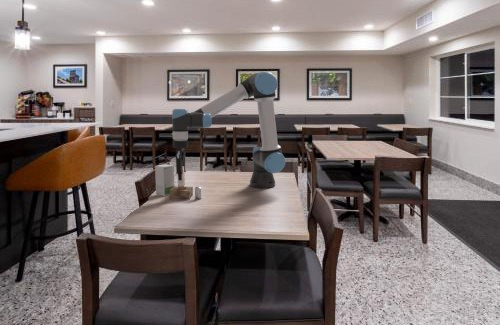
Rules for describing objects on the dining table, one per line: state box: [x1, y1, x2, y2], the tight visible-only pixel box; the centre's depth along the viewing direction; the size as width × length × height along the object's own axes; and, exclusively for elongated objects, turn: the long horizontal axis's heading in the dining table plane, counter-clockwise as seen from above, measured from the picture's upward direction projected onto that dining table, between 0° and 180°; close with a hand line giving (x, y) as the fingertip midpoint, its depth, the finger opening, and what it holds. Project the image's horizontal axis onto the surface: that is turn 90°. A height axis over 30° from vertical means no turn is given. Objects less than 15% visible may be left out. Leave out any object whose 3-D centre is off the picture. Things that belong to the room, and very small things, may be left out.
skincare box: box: [154, 163, 176, 197], centre depth 194 cm, size 8×7×16 cm
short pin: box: [194, 186, 202, 201], centre depth 186 cm, size 3×3×6 cm
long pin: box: [177, 166, 185, 190], centre depth 188 cm, size 3×3×14 cm
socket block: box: [169, 185, 194, 201], centre depth 189 cm, size 10×10×4 cm
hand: (181, 185), depth 188 cm, fingers closed on long pin, 3 cm apart
